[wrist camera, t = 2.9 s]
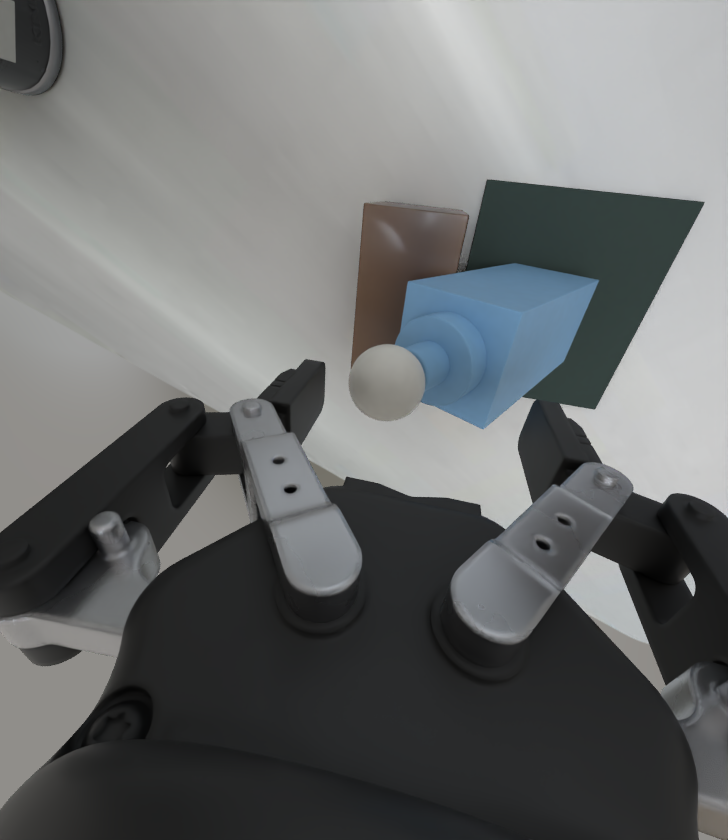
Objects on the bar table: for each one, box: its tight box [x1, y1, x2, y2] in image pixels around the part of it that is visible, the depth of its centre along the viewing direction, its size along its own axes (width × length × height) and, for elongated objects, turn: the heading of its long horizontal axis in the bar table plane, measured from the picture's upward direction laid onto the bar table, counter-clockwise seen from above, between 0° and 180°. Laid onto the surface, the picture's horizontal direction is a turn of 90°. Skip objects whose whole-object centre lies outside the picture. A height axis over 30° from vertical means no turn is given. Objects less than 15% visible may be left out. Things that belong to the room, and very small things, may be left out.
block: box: [351, 202, 469, 368], centre depth 27 cm, size 6×12×8 cm, turn 175°
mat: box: [466, 180, 705, 409], centre depth 28 cm, size 14×16×1 cm
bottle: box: [349, 263, 599, 429], centre depth 21 cm, size 14×6×19 cm, turn 85°
